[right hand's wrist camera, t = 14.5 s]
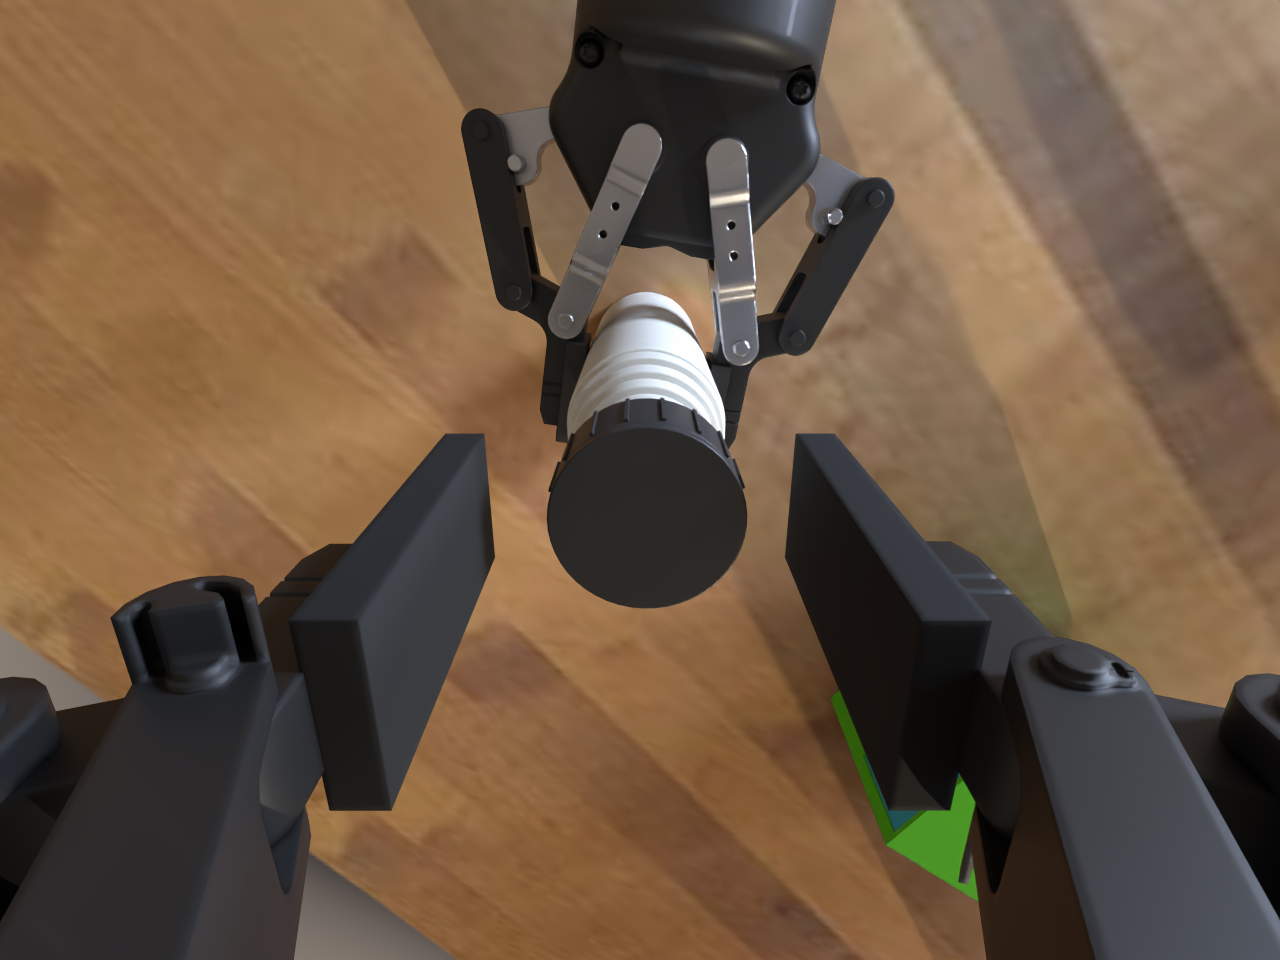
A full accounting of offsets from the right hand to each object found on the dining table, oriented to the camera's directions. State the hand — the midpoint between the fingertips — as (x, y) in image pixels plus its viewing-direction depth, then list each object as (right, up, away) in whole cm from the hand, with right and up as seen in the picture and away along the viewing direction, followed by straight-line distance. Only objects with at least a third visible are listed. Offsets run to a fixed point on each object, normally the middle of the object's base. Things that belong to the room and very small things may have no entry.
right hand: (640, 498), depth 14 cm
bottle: (0, +6, +17) cm, 18 cm away
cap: (0, 0, -1) cm, 1 cm away
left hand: (0, +2, +12) cm, 12 cm away
